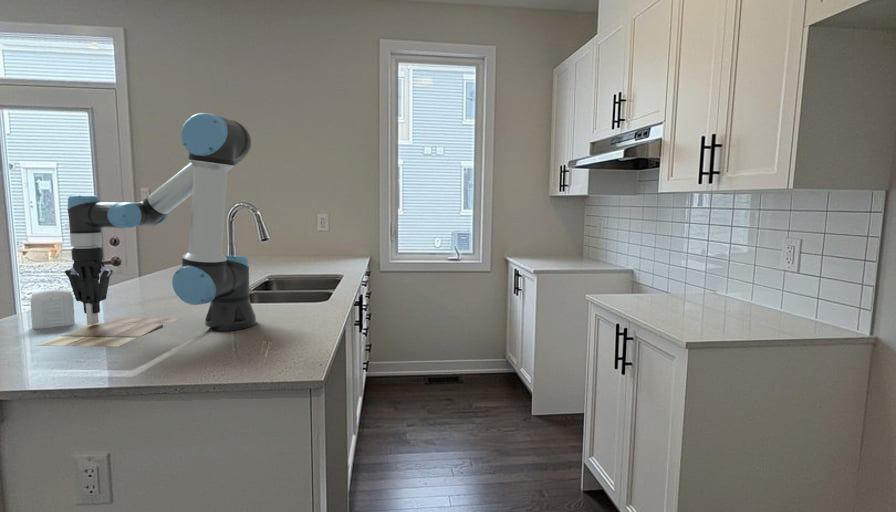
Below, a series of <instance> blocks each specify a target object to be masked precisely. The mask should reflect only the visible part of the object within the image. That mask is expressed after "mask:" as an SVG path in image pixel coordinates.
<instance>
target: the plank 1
mask: <svg viewBox="0 0 896 512" xmlns="http://www.w3.org/2000/svg"><path fill="white" fill-rule="evenodd" d="M163 327H164V323H107V322H99V323H96V324H93V325H87V324H86V325H85V326H82V327H79V328H76V329H75V330H73V331H70V332H68V333H65V334H64V335H66V336H126V337H139V338H141V337H142V336H145V335H147V334H149V333H152V332H154V331H156V330H158V329H160V328H163Z"/></svg>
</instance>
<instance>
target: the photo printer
mask: <svg viewBox="0 0 896 512" xmlns="http://www.w3.org/2000/svg"><path fill="white" fill-rule="evenodd" d="M73 296H74V295H73V294H72V291H71V290H65V289H45V290H41V291H37V292H34V293H31V297H30V300H29V301H30V315H31V328H32V330H36V329H50V328H58V327H67V326H73V325H75V324H76V321H75V305H74V303H75V302H74V297H73Z"/></svg>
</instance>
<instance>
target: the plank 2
mask: <svg viewBox="0 0 896 512" xmlns="http://www.w3.org/2000/svg"><path fill="white" fill-rule="evenodd" d="M180 319H181V318H180V317H179V318H178V317H174V318H172V317H171V318H170V317H169V318H167V317H165V318H163V317H161V318H160V317H159V318H158V317H157V318H156V317H154V318H151V317H150V318H149V317H148V318H139V317H138V318H133V317H132V318H130V317H129V318H127V317H126V318H115V319H113V320H110V321H107V322H106V323H129V324H164V323H165V324H167V323H168V324H171V323H174V322H176V321H178V320H180Z"/></svg>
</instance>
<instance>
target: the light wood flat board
mask: <svg viewBox="0 0 896 512" xmlns="http://www.w3.org/2000/svg"><path fill="white" fill-rule="evenodd" d="M139 338H140V337H130V336H70V335H65V334H63V335H60V336H57V337H54V338H52V339H49V340H47V341H43V342H40V343H38V344H37V346H45V347H46V346H52V347H53V346H54V347H59V346H60V347H107V348H108V347H110V348H111V347H112V348H113V347H114V348H115V347H121V346H122V345H123V346H124V345H125V344H127V343H130V342H131V341H133V340H135V339H139Z"/></svg>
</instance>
